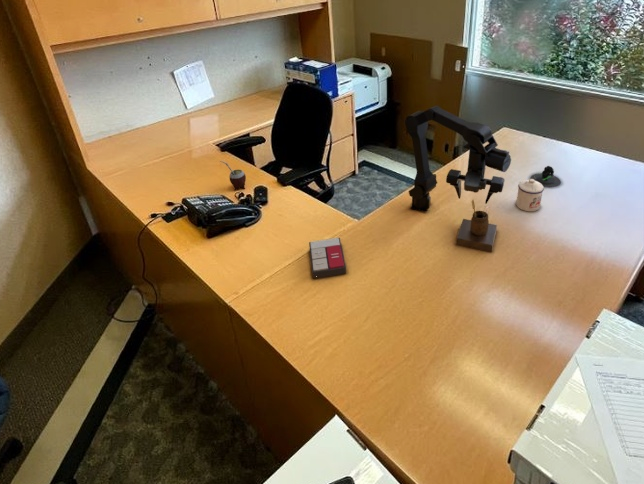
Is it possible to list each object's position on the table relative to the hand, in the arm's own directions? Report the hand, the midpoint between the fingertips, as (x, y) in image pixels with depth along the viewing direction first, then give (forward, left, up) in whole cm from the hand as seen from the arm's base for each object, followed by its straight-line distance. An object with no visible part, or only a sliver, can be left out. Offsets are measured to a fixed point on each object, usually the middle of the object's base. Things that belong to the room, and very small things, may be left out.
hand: (472, 200), depth 147 cm
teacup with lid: (+19, +23, -12) cm, 32 cm away
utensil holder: (+4, -5, -9) cm, 11 cm away
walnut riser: (+3, -5, -12) cm, 13 cm away
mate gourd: (-103, -4, -12) cm, 103 cm away
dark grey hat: (+24, +44, -12) cm, 51 cm away
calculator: (-42, -34, -12) cm, 55 cm away
